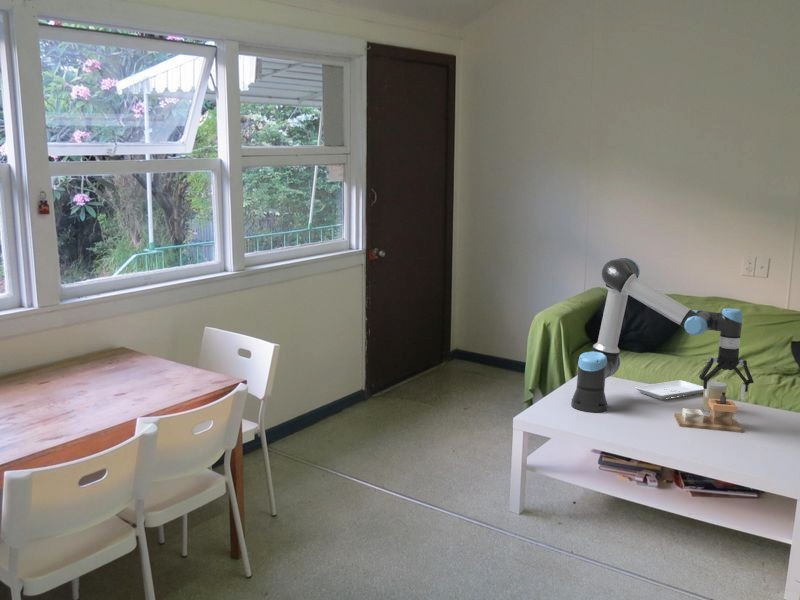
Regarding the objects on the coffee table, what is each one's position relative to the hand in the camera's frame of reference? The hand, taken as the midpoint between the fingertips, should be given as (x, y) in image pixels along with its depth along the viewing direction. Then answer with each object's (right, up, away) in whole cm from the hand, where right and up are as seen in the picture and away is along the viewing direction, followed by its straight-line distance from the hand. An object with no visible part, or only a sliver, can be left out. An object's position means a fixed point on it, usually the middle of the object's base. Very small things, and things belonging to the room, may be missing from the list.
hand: (724, 398), depth 298 cm
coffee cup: (+5, -8, +22) cm, 24 cm away
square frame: (0, -4, +1) cm, 4 cm away
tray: (-5, -4, +45) cm, 46 cm away
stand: (-6, -11, +3) cm, 13 cm away
